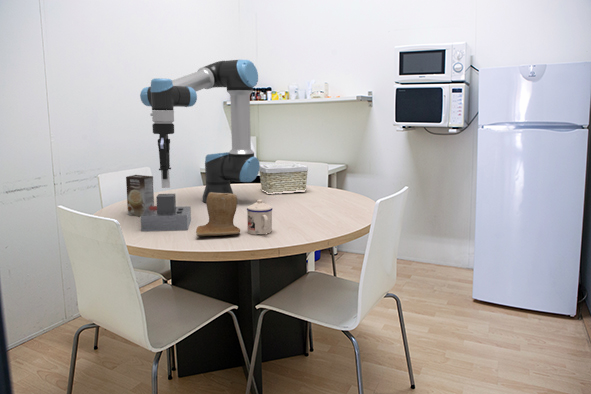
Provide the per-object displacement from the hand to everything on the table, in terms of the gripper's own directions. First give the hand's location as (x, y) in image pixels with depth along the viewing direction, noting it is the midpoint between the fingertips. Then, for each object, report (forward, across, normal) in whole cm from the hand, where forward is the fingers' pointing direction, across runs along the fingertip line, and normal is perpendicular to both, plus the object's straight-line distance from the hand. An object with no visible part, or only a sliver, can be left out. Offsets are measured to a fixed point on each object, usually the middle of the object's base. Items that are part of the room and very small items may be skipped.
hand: (165, 187), depth 168 cm
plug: (+14, 0, 0) cm, 14 cm away
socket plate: (+14, 0, 0) cm, 14 cm away
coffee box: (+15, -20, -13) cm, 28 cm away
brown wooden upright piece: (+15, +15, +19) cm, 28 cm away
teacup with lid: (+15, +15, +34) cm, 40 cm away
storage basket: (+15, -70, +52) cm, 88 cm away
